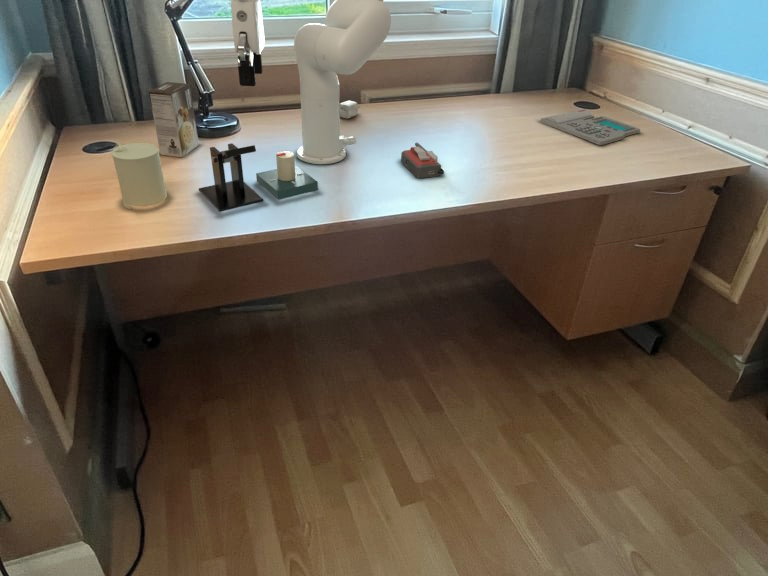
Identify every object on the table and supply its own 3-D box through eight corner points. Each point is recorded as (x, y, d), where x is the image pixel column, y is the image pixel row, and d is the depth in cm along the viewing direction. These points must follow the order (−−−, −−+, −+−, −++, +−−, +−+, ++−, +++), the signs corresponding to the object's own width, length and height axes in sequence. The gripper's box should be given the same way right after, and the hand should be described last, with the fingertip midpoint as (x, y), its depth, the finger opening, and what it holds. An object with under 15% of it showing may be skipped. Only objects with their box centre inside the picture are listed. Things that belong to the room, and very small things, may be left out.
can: (129, 191, 130) (118, 140, 123) (172, 191, 131) (162, 140, 124) (117, 210, 122) (104, 156, 116) (162, 210, 123) (152, 157, 116)
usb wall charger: (338, 116, 178) (338, 103, 176) (352, 110, 183) (352, 98, 180) (349, 119, 176) (349, 105, 174) (362, 113, 181) (362, 100, 178)
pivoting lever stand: (263, 205, 127) (259, 153, 121) (219, 216, 122) (212, 163, 116) (241, 185, 135) (236, 135, 128) (199, 194, 130) (191, 143, 124)
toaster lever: (257, 154, 116) (253, 142, 116) (228, 159, 113) (225, 147, 113) (238, 160, 126) (235, 149, 125) (212, 165, 123) (208, 154, 123)
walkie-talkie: (451, 177, 143) (419, 148, 159) (453, 160, 141) (420, 132, 156) (418, 181, 141) (389, 151, 156) (419, 164, 138) (390, 135, 153)
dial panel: (295, 176, 140) (294, 164, 138) (318, 193, 133) (317, 181, 131) (257, 185, 135) (255, 172, 134) (278, 203, 128) (277, 190, 126)
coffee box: (177, 142, 155) (166, 80, 146) (199, 145, 154) (190, 83, 145) (159, 155, 148) (147, 90, 139) (183, 158, 147) (172, 93, 138)
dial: (290, 172, 135) (289, 148, 131) (298, 178, 132) (297, 154, 129) (274, 176, 133) (272, 151, 129) (282, 182, 130) (281, 157, 127)
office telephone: (540, 114, 179) (583, 104, 189) (539, 122, 181) (581, 112, 190) (602, 137, 164) (645, 125, 173) (600, 146, 165) (643, 134, 175)
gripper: (256, -2, 109) (263, 91, 118) (269, -15, 123) (274, 69, 132) (215, -4, 108) (226, 90, 118) (233, -16, 122) (241, 68, 132)
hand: (251, 79), depth 125 cm, fingers open, 9 cm apart
